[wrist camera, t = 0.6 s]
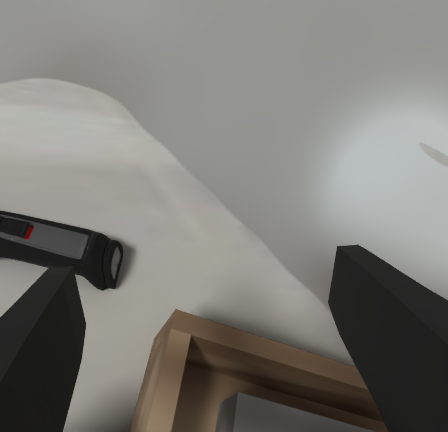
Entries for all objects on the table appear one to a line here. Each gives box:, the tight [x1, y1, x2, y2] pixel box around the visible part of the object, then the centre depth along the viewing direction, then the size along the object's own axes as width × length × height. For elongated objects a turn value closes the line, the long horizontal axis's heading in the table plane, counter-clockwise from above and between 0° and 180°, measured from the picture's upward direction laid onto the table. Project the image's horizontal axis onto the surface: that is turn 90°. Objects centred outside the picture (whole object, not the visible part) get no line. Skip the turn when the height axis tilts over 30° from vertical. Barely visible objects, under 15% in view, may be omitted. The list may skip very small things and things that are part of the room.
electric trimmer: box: [0, 211, 123, 290], centre depth 26 cm, size 4×16×3 cm, turn 86°
